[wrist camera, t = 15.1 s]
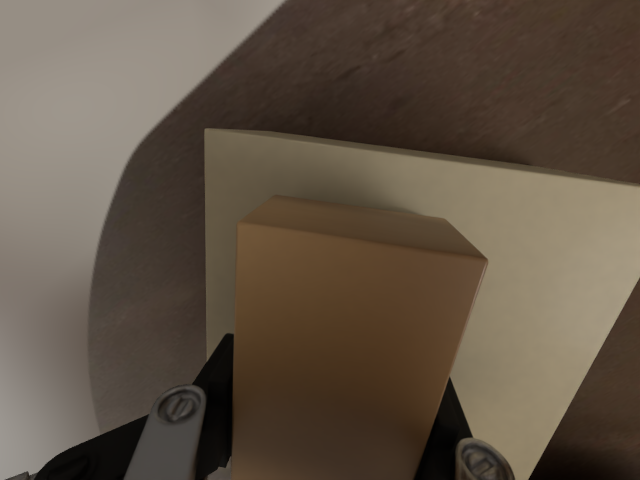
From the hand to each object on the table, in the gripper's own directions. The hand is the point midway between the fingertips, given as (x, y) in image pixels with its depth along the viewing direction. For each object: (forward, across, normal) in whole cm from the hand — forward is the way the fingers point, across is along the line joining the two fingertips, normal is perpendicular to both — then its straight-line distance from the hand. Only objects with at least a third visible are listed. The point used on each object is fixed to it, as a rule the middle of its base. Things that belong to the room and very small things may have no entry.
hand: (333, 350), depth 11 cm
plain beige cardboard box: (+9, -2, 0) cm, 9 cm away
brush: (+1, 0, 0) cm, 1 cm away
